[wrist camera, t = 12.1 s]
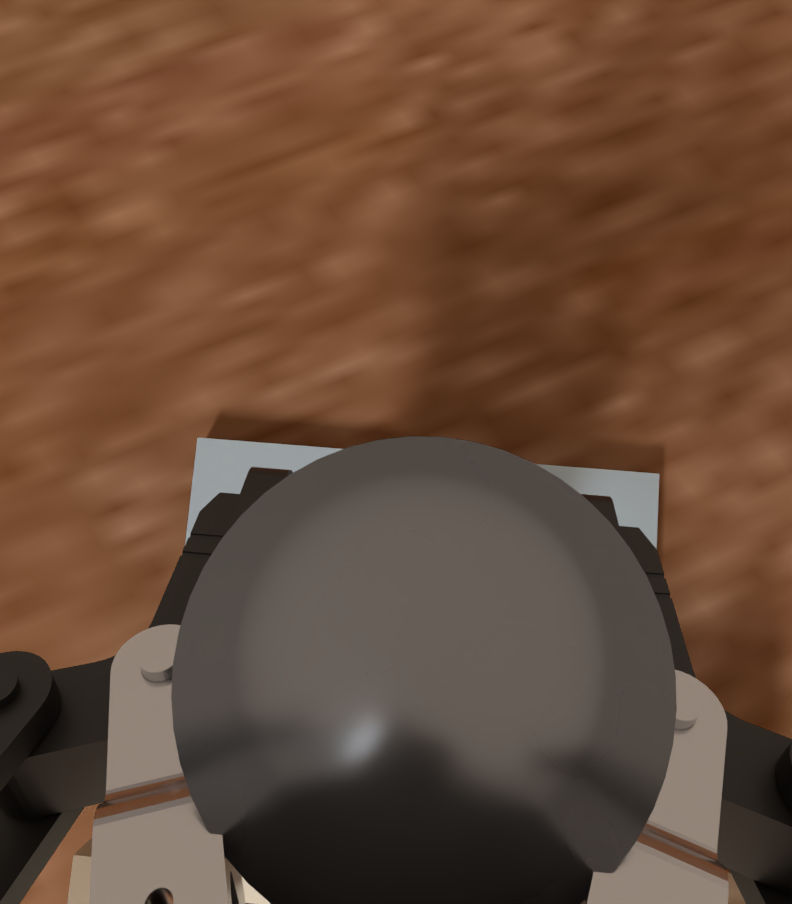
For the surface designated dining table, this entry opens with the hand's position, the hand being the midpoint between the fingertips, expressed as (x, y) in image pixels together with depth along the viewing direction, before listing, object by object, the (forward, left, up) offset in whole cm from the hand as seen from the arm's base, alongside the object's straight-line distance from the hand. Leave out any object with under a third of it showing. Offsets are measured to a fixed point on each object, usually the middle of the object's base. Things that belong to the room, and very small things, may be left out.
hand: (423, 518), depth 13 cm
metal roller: (0, -2, -4) cm, 5 cm away
